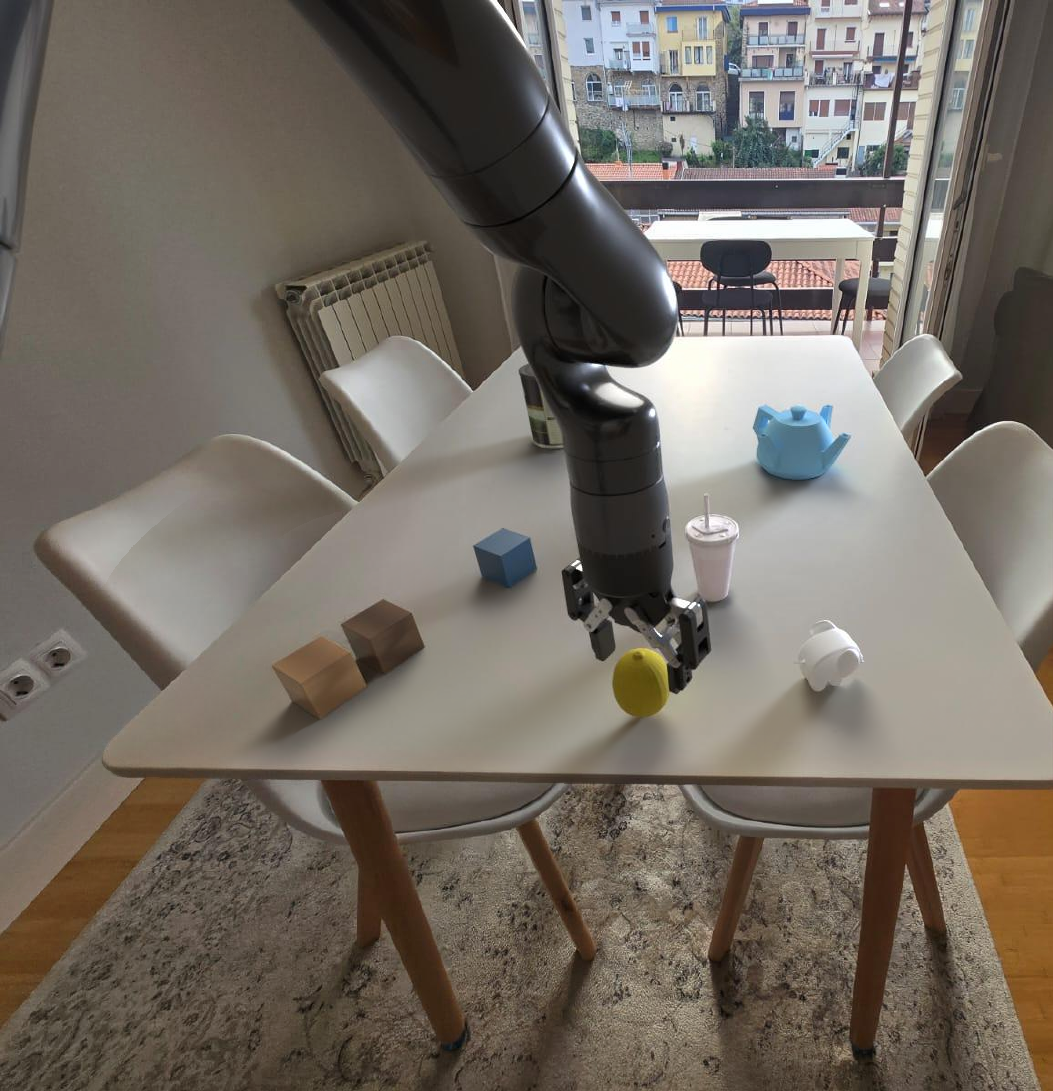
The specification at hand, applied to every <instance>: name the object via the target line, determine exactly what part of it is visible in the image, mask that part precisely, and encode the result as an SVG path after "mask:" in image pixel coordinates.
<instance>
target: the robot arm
mask: <svg viewBox="0 0 1053 1091" xmlns="http://www.w3.org/2000/svg"><path fill="white" fill-rule="evenodd" d="M282 1H283V2H284V3H285V5H286V6H288V8H289V9H290V10H291V11H292V12H293V13H294V14H295V16H297V18H298V19H299V20H300V21H301V22H302V24H304V26H305V27H306V28H307V29H308V30H309V31H310V33H311V34H312V35H313V36H314V38H316V39H317V40H318V41H319V43H320V44H321V45H322V46H323V48H324V49H325V50H326V51H327V52H328V53H329V54H330V56H331V58H333V59H334V61H335V62H336V63H337V64H338V66H339V67H340V68H341V69H342V71H343V72H344V73H345V74H346V75H347V76H348V78H349V79H350V80H351V81H352V82H353V84H354V85H355V86H356V88H358V90H359V91H360V92H361V93H362V95H363V96H364V97H365V99H366V100H367V101H368V103H370V104H371V106H372V107H373V109H374V110H375V111H376V112H377V114H379V116H380V118H382V120H383V121H384V123H385V124H386V125H387V127H389V129H390V130H391V131H392V133H393V134H394V135H395V137H396V138H397V139H398V141H399V142H400V143H401V145H402V146H403V147H404V148H405V150H406V151H407V152H408V154H409V155H410V156H411V158H412V159H413V160H414V161H415V163H416V164H417V165H418V167H419V168H420V169H421V171H422V172H423V174H425V176H426V177H427V178H428V180H429V181H430V182H431V184H432V185H433V187H434V188H435V189H436V190H437V191H438V193H439V195H441V197H442V198H443V199H444V201H445V202H446V204H447V205H448V206H449V207H450V209H451V210H452V211H453V212H454V214H455V215H456V216H457V217H458V219H459V220H460V222H461V223H462V224H463V226H464V227H465V228H466V230H467V231H468V232H469V233H470V234H471V235H472V236H473V238H474V239H475V240H476V241H477V242H478V243H479V244H480V245H481V246H482V247H483V248H484V249H485V250H487V252H489V253H490V254H491V255H493V256H495V257H496V258H498V259H501V260H502V261H505V262H508V263H509V264H513V265H517V268H516V270H515V273H514V276H513V279H512V284H511V292H510V309H511V316H512V323H513V326H514V329H515V334H516V337H517V340H518V342H519V345H520V348H521V350H522V352H523V354H524V357H525V359H526V361H527V364H529V365H530V367H531V370H532V372H533V374H534V376H535V378H536V380H537V382H538V384H539V387H540V389H541V391H542V393H543V395H544V398H545V400H546V402H547V404H548V406H549V408H550V410H551V412H552V414H553V416H554V418H555V420H556V422H557V424H558V426H559V428H560V431H561V434H562V440H563V448H562V449H563V452H564V459H565V463H566V464H565V465H566V470H567V475H568V480H569V488H570V489H569V490H570V491H569V492H570V494H569V495H570V496H569V497H570V498H569V500H570V508H571V509H570V511H571V518H572V522H573V523H572V524H573V528H574V534H575V539H576V544H577V550H578V555H579V557H578V558H576V559H575V560H574V561H572V562H571V563H570V564H568V565H567V566H565V567H564V568H563V569H562V570H561V579H562V585H563V592H564V598H565V605H566V606H565V607H566V611H567V616H568V617H569V619H571V620H572V621H574V622H575V621H578V620H579V621H581V622H582V623H583V624H582V625H583V628H584V629H585V630H586V631H587V632H588V634H589V640H590V645H591V649H592V651H593V653H594V655H595V659H596V660H598V661H600V662H605V661H606V660H607V659H608V658H609V657H610V656H611V655H612V654H614V652H615V651H616V647H617V646H616V639H615V633H614V628H613V621H612V620H610V619H609V618H611V619H613V620H614V623H615V624H617V625H620V626H622V627H628V628H630V629H632V630H633V631H635V632H637V633H639V634H641V635H642V636H643V638H644V639H645V640H646V641H647V643H648V644H649V646H650V647H651V648H652V649H655V650H656V649H657V650H659V651H660V653H661V654H662V656H663V657H664V659H665V660H666V661H667V663H666V665H667V674H668V685H669V691H670V693H672V694H674V695H678V694H679V693H680V692H683V691H684V690H685V689H686V687H687V686H688V685H689V684H690V682H691V681H692V680H693V671H695V670H697V668H699V666H700V664H701V663H702V661H703V660H705V658H706V657H707V656H708V655H709V654H710V653H711V652H712V643H711V633H710V623H709V615H708V614H709V613H708V604H707V601H706V600H704V599H702V598H701V597H700V596H699V597H698V596H697V597H695V598H694V599H693V600H692V601H688V600H684V599H681V598H677V595H676V593H675V591H674V588H673V586H672V577H673V572H674V554H673V553H674V552H673V551H674V550H673V541H672V540H673V539H672V528H671V515H670V514H671V512H670V501H669V493H668V490H667V489H668V488H667V485H666V481H665V475H664V469H663V468H664V467H663V455H662V443H661V441H662V440H661V429H660V428H661V427H660V420H659V415H658V411H657V407H656V406H655V405H654V403H653V402H652V401H651V400H650V399H649V397H646V396H645V395H644V394H641V393H639V392H637V391H635V390H633V389H630V388H628V387H626V386H625V385H622V384H621V383H619V382H617V380H616V379H615V378H613V377H612V376H611V374H610V373H609V371H608V369H607V367H612V368H613V367H614V368H620V369H621V368H622V369H640V368H645V367H649V366H651V365H653V364H655V363H656V362H657V361H659V360H661V359H662V358H663V357H664V356H665V355H666V353H667V352H668V351H669V349H670V348H671V346H672V344H673V342H674V341H675V338H676V333H677V330H678V325H679V304H678V296H677V293H676V289H675V285H674V282H673V279H672V276H671V274H670V272H669V269H668V268H667V267H668V266H667V265H666V264H665V262H664V260H663V258H662V257H661V255H660V253H659V251H658V250H657V249H656V248H655V246H654V245H653V243H652V242H651V241H650V239H649V238H648V237H647V236H646V234H645V233H644V232H643V231H642V230H641V229H640V227H639V226H638V224H636V223H635V221H634V220H633V218H631V217H630V215H629V214H628V213H627V211H626V210H625V209H624V208H623V207H622V206H621V204H620V202H618V200H617V199H616V198H615V196H614V195H613V194H612V193H611V192H610V191H609V190H608V189H607V187H606V186H604V184H603V183H602V182H601V181H600V180H599V179H598V177H597V176H596V175H594V173H592V171H591V170H590V169H589V167H588V166H587V164H586V163H585V161H584V159H583V157H582V154H581V152H580V150H579V148H578V146H577V143H576V142H575V141H574V138H573V136H572V134H571V132H570V129H569V128H568V126H567V124H566V121H565V120H564V117H563V115H562V114H561V112H560V109H559V107H558V105H557V103H556V101H555V99H554V98H553V95H552V93H551V90H550V89H549V87H548V85H547V84H546V81H545V78H544V77H543V75H542V74H541V71H540V69H539V67H538V65H537V63H536V61H535V59H534V57H533V56H532V53H531V52H530V50H529V49H528V46H527V45H526V43H525V41H524V39H523V38H522V36H521V34H520V32H519V31H518V30H517V28H516V27H515V25H514V23H513V22H512V20H511V19H510V17H509V16H508V14H507V13H506V12H505V11H504V8H502V6H501V5H500V4H499V2H498V0H282ZM54 6H55V0H0V363H1V362H2V355H3V351H4V350H3V349H4V344H5V339H6V333H7V328H8V321H9V316H10V310H11V305H12V304H11V303H12V298H13V293H14V288H15V281H16V276H17V270H18V265H19V259H18V257H16V254H18V253H20V251H21V247H22V246H21V245H22V236H23V231H24V230H23V229H24V220H25V208H26V200H27V198H26V197H27V188H28V187H27V186H28V177H29V167H30V158H31V150H32V141H33V132H34V126H35V120H36V115H37V111H38V110H37V109H38V105H39V99H40V94H41V89H42V83H43V76H44V70H45V63H46V58H47V52H48V46H49V38H50V32H51V26H52V19H53V12H54ZM606 366H607V367H606ZM595 597H596V599H597V600H598V602H597V605H595ZM664 620H665V621H666V622H665V623H666V625H665V627H664V628H663V629H662V630H661V631H660V632H658V631H657V630H656V628H657V627H658V625H659V624H660V623H661V622H662V621H664ZM672 638H673V640H674V641H675V643H676V644H677V647H676V648H675V647H674V646H673V644H672V643H671V640H672ZM0 1091H2V1089H0Z"/></svg>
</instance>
